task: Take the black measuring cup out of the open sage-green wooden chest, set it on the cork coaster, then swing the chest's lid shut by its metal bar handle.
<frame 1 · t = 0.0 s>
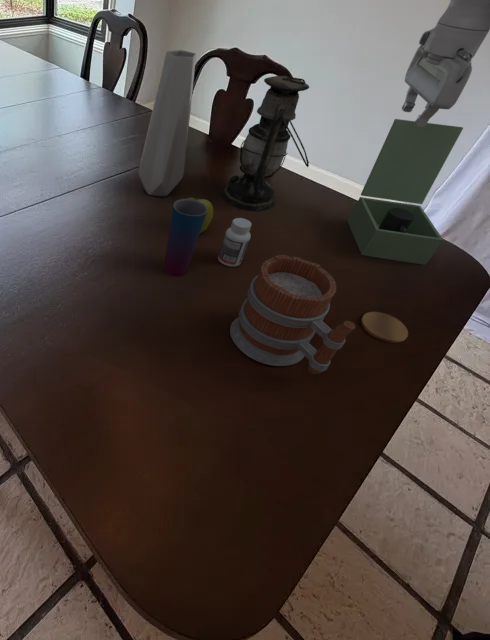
hand: (412, 118, 96), 26 cm above the table, tool pointing down, fingers open, 8 cm apart
pill bottle: (228, 261, 101), on the table
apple: (191, 230, 109), on the table
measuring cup: (385, 238, 110), point 1 cm above the table, touching chest
lid: (405, 161, 108), point 16 cm above the table, hinge at 100.0°
cup: (174, 270, 97), on the table
mug: (275, 350, 81), on the table
coaster: (383, 327, 87), on the table
lantern: (255, 199, 123), on the table
vase: (154, 191, 123), on the table
chest: (384, 241, 110), on the table
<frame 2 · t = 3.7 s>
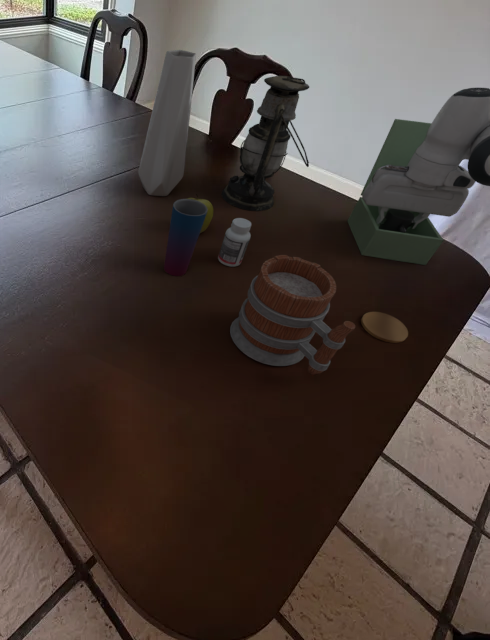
hand: (394, 225, 107), 5 cm above the table, tool pointing down, fingers closed on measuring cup, 5 cm apart
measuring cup: (385, 238, 110), point 1 cm above the table, touching chest, gripper
everything else where it was.
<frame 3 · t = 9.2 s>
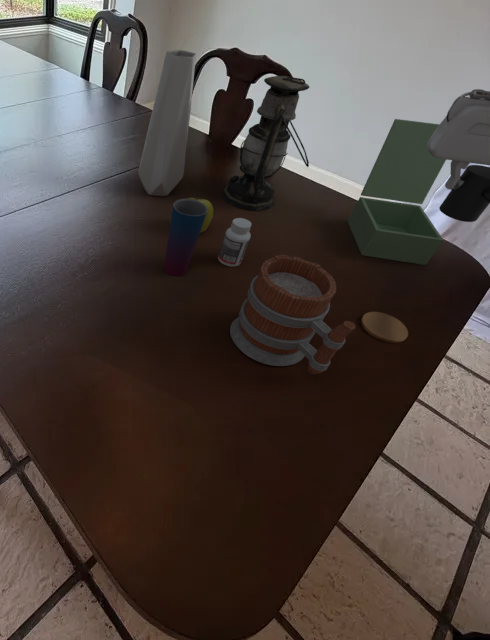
hand: (474, 191, 70), 27 cm above the table, tool pointing down, fingers closed on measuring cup, 5 cm apart
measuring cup: (457, 213, 73), point 23 cm above the table, touching gripper
everything else where it was.
when the fingers open (4 cm above the table, at t = 14.8 s): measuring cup stays where it is, resting on coaster.
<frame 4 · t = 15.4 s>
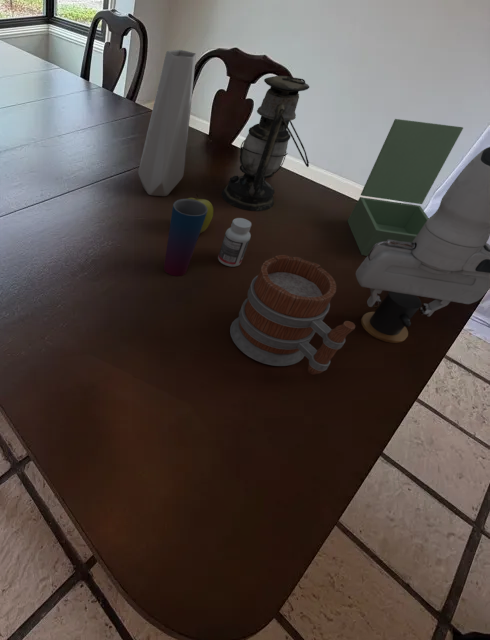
hand: (397, 309, 84), 5 cm above the table, tool pointing down, fingers open, 8 cm apart
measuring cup: (384, 325, 87), point 1 cm above the table, touching coaster
everything else where it was.
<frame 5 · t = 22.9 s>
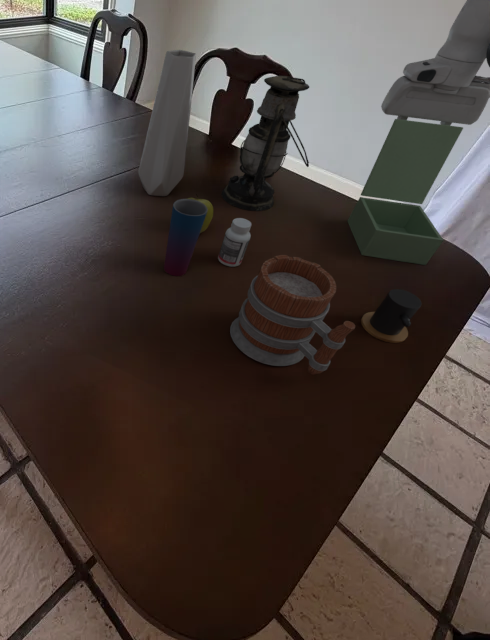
hand: (413, 138, 106), 20 cm above the table, tool pointing down, fingers closed on lid, 6 cm apart
lid: (405, 161, 108), point 16 cm above the table, hinge at 100.0°, touching gripper
everything else where it was.
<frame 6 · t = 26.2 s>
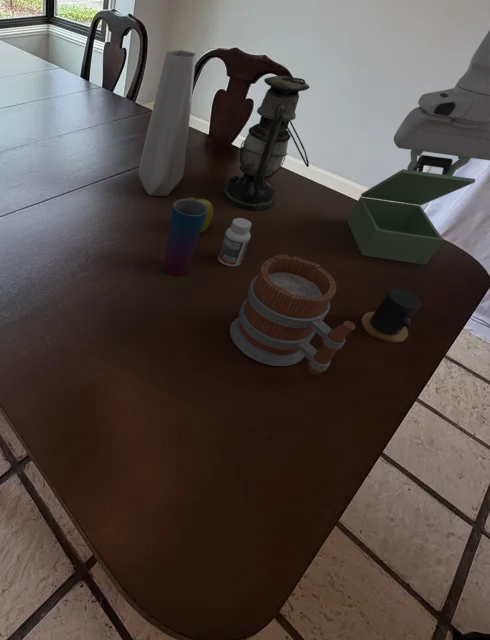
hand: (428, 172, 97), 18 cm above the table, tool pointing down, fingers closed on lid, 6 cm apart
lid: (414, 179, 102), point 15 cm above the table, hinge at 42.6°, touching gripper
everything else where it was.
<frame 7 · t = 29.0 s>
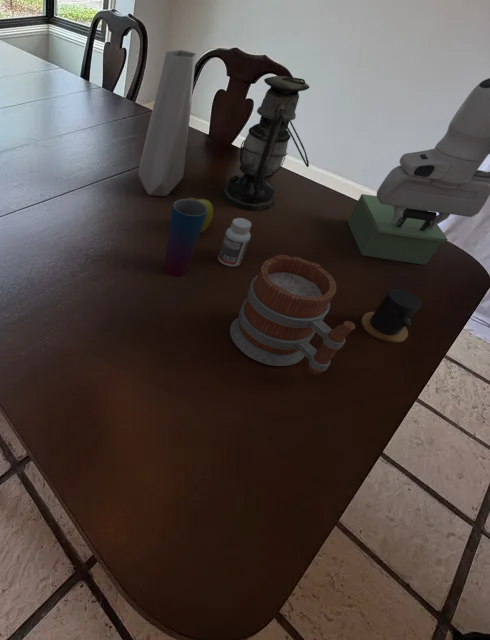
hand: (410, 226, 100), 8 cm above the table, tool pointing down, fingers closed on lid, 6 cm apart
lid: (406, 208, 103), point 10 cm above the table, hinge at 0.0°, touching gripper
everything else where it was.
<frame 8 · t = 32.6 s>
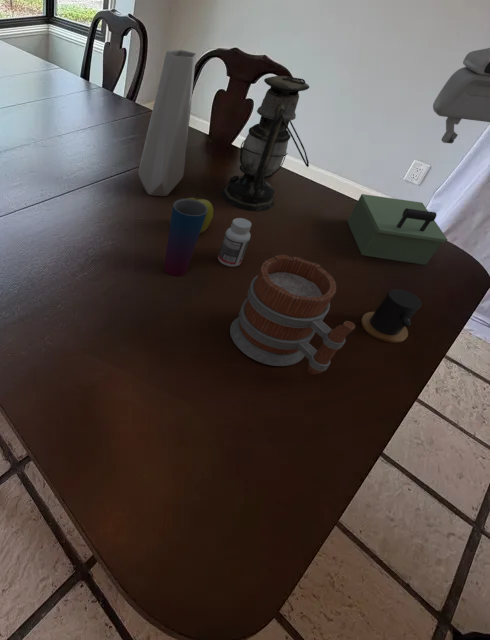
hand: (472, 145, 85), 27 cm above the table, tool pointing down, fingers open, 8 cm apart
lid: (406, 208, 103), point 9 cm above the table, hinge at -0.2°
everything else where it was.
at the end: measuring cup 0.1 cm off-centre on the coaster, point 0.6 cm above the coaster's base; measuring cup tilted 0°; lid at +0° (first picture: +100°) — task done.
